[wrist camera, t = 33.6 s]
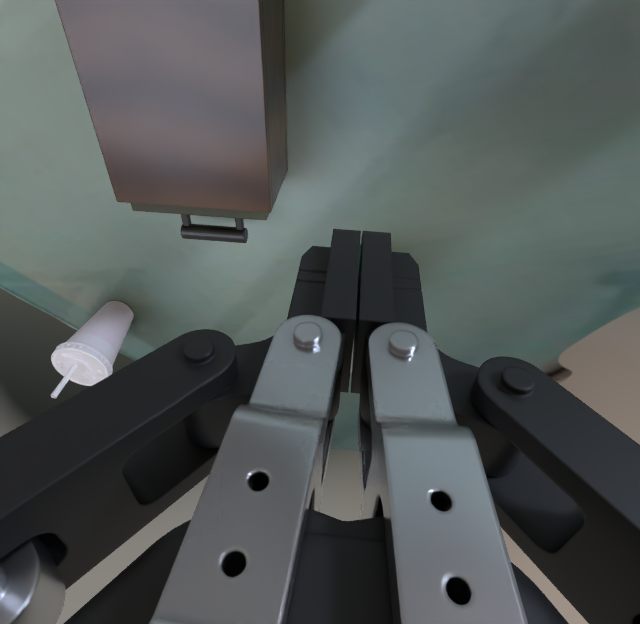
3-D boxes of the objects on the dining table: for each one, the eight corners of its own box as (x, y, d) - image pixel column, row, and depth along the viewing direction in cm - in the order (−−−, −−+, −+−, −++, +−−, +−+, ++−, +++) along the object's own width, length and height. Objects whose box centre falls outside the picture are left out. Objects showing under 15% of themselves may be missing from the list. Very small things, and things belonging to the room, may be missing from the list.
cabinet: (287, 169, 40) (271, 212, 34) (157, 161, 41) (116, 201, 35) (282, -47, 30) (256, -44, 24) (109, -53, 31) (38, -51, 24)
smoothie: (117, 285, 52) (51, 372, 41) (154, 321, 55) (102, 410, 45) (83, 302, 54) (12, 388, 44) (120, 335, 58) (63, 423, 47)
